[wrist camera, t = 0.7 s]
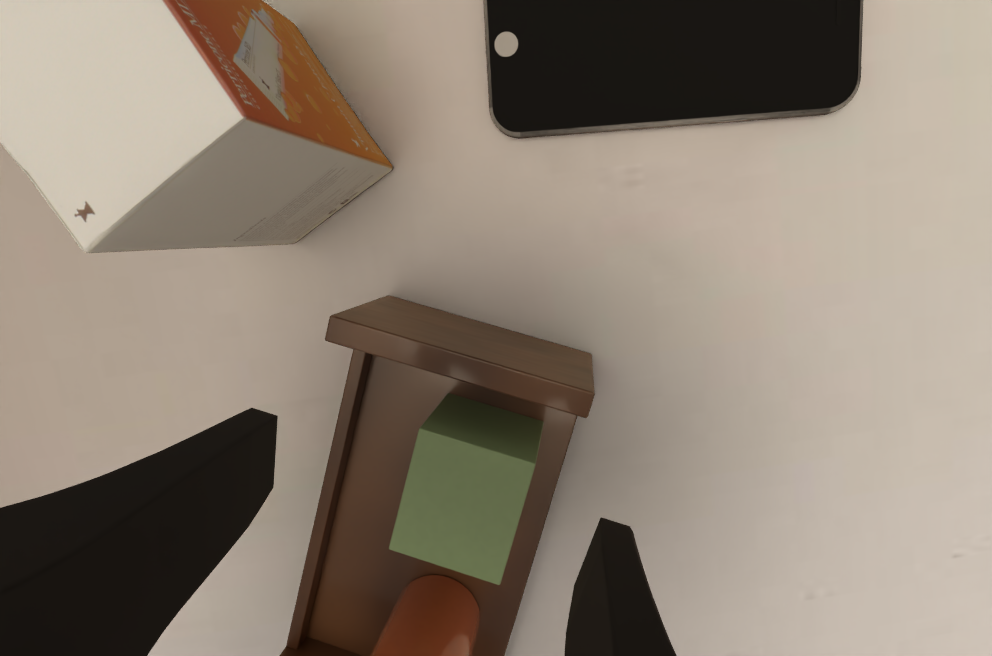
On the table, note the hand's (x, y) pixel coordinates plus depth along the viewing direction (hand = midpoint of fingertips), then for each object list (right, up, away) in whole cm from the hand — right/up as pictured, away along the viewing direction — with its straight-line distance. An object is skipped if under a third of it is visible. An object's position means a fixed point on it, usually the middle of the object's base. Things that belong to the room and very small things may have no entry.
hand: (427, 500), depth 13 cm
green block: (+1, -2, +14) cm, 15 cm away
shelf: (-1, -5, +18) cm, 18 cm away
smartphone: (+9, +16, +13) cm, 22 cm away
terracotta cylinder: (-1, -10, +16) cm, 19 cm away
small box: (-8, +13, +16) cm, 22 cm away
